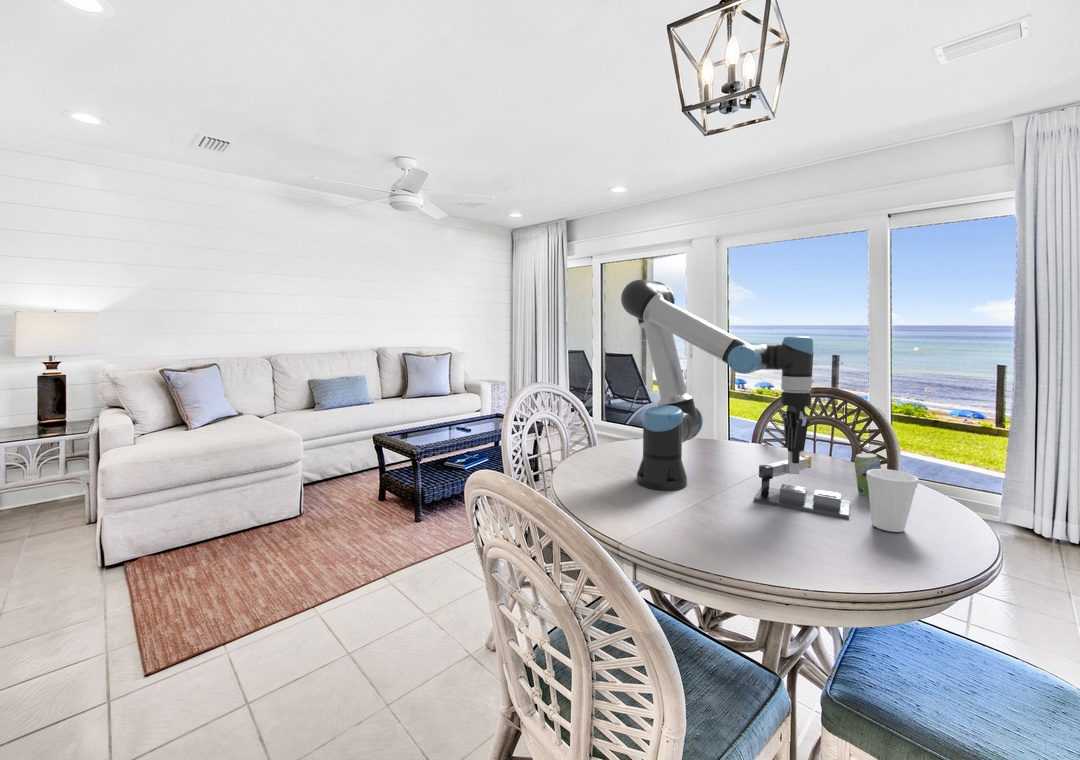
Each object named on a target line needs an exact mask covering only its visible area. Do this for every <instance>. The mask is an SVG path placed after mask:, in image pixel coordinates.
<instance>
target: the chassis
mask: <svg viewBox="0 0 1080 760" xmlns="http://www.w3.org/2000/svg"><path fill="white" fill-rule="evenodd" d="M770 480H771V479H763V478H761V486H760V488H759V490H758V492H757V493H756V495H755V496H754V497H753V503H759V504H764V505H771V506H775V507H779V508H780V507H781V508H784V509H791V510H796V511H801V512H802V511H803V512H808V513H812V514H818V515H824V516H829V517H833V518H834V517H835V518H840V519H846V520H849V518H850V509H851V508H850V504H851V501H850V500H848V499H842V493H839V492H834V491H827V490H821V489H815V490H814V492H813V494H812V493H807V492H808V488H807V487H803V486H799V485H798V486H797V485H791V484H785V483H783V484H782V485H781V486H780V488H775V487H771V486H770V483H771V482H770Z"/></svg>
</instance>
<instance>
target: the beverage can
mask: <svg viewBox="0 0 1080 760" xmlns="http://www.w3.org/2000/svg"><path fill="white" fill-rule="evenodd" d="M853 460H854V470H855V476H856V485H857V486H856V487H857V493H858V494H859V495H862V496H863V497H867V498H869V491H868V482H867V477H866V472H867V471H868V470H871V469H882V466H881V460H880V458H879V457H878V455H877V454H875V453H872V452H864V453H863V452H862V453H861V452H860V453H858V454H856V455H855V458H854V459H853Z"/></svg>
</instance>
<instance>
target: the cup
mask: <svg viewBox="0 0 1080 760" xmlns="http://www.w3.org/2000/svg"><path fill="white" fill-rule="evenodd" d="M866 477H867V482H868V491H869V497H868V499H869V507H870V508H869V509H870V518H871V519H870V520H871V524H872V526H873V527H876V528H877V529H879V530H882V531H886V532H893V533H901V532H902V533H903V532H904V531H905V529H906V526H907V521H908V518H909V514H910V511H911V507H912V503H913V500H914V497H915V493H916V489H917V488H918V484H919V480H920V478H919V477H917V476H916V475H914V474H911V473H909V472H904V471H900V470H894V469H889V468H888V469H887V468H885V469H884V468H881V469H871V470H868V471H867V472H866Z"/></svg>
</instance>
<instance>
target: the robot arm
mask: <svg viewBox="0 0 1080 760" xmlns="http://www.w3.org/2000/svg"><path fill="white" fill-rule="evenodd" d="M620 298H621V299H620V301H621V305H622V307H623V309H624V310H625V312H626V313H628V314H629V315H630V316H633V317H635V318H636V319H637V321H638V326H639V327H641V328H642V329H643V330H644V331H645V336H646V340H647V345H648V349H649V354H650V357H651V361H652V366H653V371H654V375H655V379H656V384H657V388H658V392H659V397H660V400H659V401H658V403H657V405H655V406H651V407H648V408H647V409H646V410H645V411H644V413H643V419H642V427H643V428H642V459H641V461H640V464H639V466H638V467H639V468H638V470H637V473H636V482H637V484H639V485H640V486H642V487H645V488H648V489H652V490H656V491H657V490H659V491H676V490H682V489H684V488H686V487H687V485H688V476H687V473H686V470H685V466H684V464H683V463H684V462H683V459H682V457H683V456H682V455H683V453H682V452H683V451H682V450H683V443H685V442H687V441H690V440H692V439H694V438H695V437H696V436H697V435H698V434H699V433H700V432H701V430H702V428H703V424H704V420H703V419H704V418H703V414H702V412H701V410H700V409H699V408H698V407H696V405H695V401H694V397H693V396H692V395H690V394H689V393H687V388H686V387H687V386H686V384H685V380H684V375H683V370H682V366H681V361H680V359H679V358H680V357H679V353H678V350H677V346H676V345H677V344H676V342H675V336H677V337H679V338H681V339H682V340H683V341H685V342H688V343H689V344H691V345H693V346H694V347H697V348H699V349H700V350H702V351H704V352H705V353H707V354H709V355H711V356H713V357H714V358H716V359H718V360H721V362H724V363H725V364H727V365H728V366H729V368H730V369H731V370H732V371H733V372H735V373H737V374H743V375H744V374H745V375H747V374H752V373H754V372H756V371H757V372H758V371H760V370H765V371H766V370H768V371H769V370H772V371H773V370H774V371H781V383H780V384H781V385H780V386H781V387H780V388H781V390H782V391H781V396H780V397H781V398H780V403H781V405H783V406H786V411H785V412H782V419H783V420H782V421H783V428H784V429H783V431H784V433H783V434H784V446H785V447H786V448H787V451H788V452H787V459H788V473H787V474H788V475H800V470H799V467H800V456H801V452H804V451H805V447H806V440H807V433H808V427H809V424H810V419H809V418H806V411H805V409H806V407H810V406H812V395H813V394H812V393H811V391H812V386H813V383H814V379H813V368H814V367H813V365H814V353H815V352H814V340H813V338H812V337H810V336H785V337H783V338H782V339H783V340H782V343H751V342H750V343H749V342H746V341H744V340H742V339H740V338H739V337H737V336H735V335H733V334H732V333H729V332H727V331H725V330H723V329H721V328H719V327H718V326H715V325H713V324H712V323H710V322H708V321H706V320H705V319H703V318H700V317H698V316H696V315H695V314H693V313H691V312H689V311H687V310H685V309H683V308H681V307H679V306H677V305H676V303H675V302H676V301H675V300H676V298H675V294H674V292H673V290H672V289H671V288H670V287H669V286H668V285H667V284H664V283H663V282H660V281H656V280H655V281H650V280H646V279H635V280H632V281H631V282H629V283H627V284H626V286H625V287H624V288H623V290H622V293H621V297H620ZM674 335H675V336H674Z"/></svg>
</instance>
